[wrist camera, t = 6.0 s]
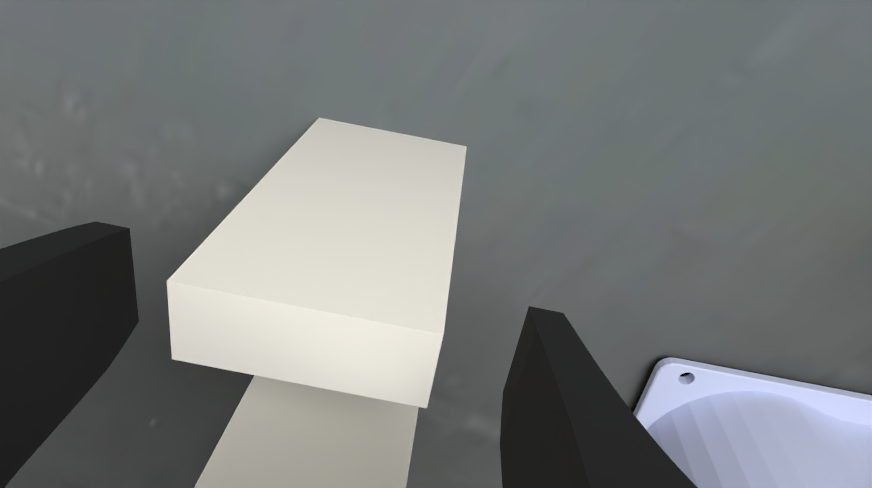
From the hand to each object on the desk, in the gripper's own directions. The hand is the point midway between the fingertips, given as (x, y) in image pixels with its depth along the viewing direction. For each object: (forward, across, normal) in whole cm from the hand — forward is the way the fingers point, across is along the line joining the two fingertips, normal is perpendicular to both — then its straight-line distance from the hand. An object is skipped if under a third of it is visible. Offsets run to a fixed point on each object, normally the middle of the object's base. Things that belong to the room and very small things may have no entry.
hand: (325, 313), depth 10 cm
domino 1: (+8, 0, 0) cm, 8 cm away
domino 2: (+8, 0, +5) cm, 10 cm away
